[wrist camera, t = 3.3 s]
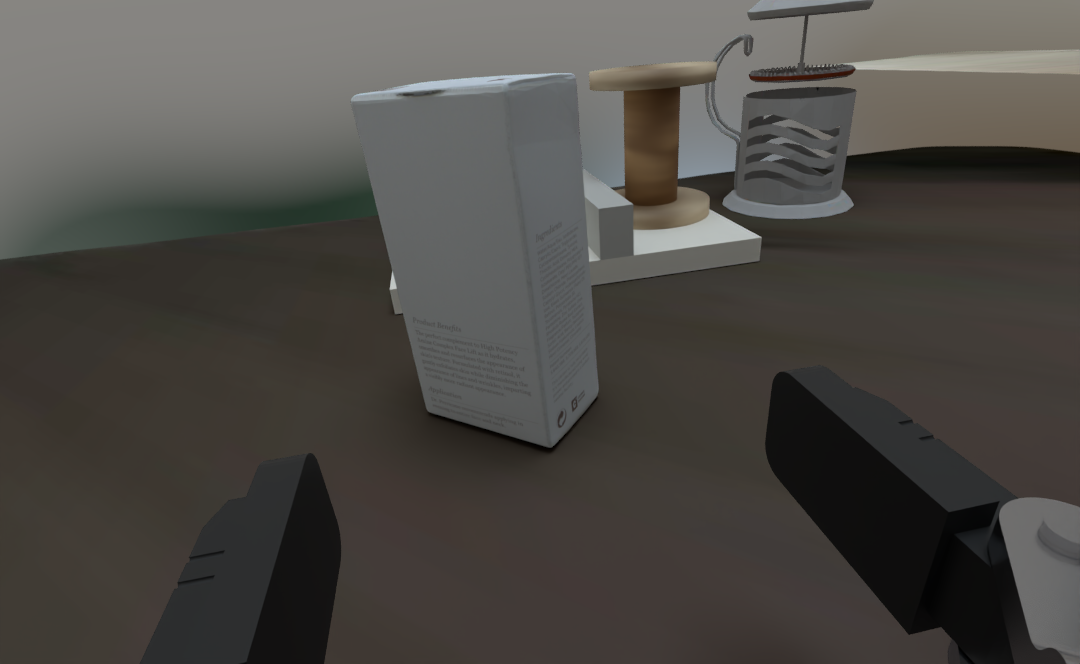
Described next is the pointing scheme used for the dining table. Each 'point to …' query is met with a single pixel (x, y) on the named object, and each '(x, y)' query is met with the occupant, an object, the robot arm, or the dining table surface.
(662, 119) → the bobbin
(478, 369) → the skincare box
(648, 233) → the notched board
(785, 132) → the french press
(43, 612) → the dining table surface
